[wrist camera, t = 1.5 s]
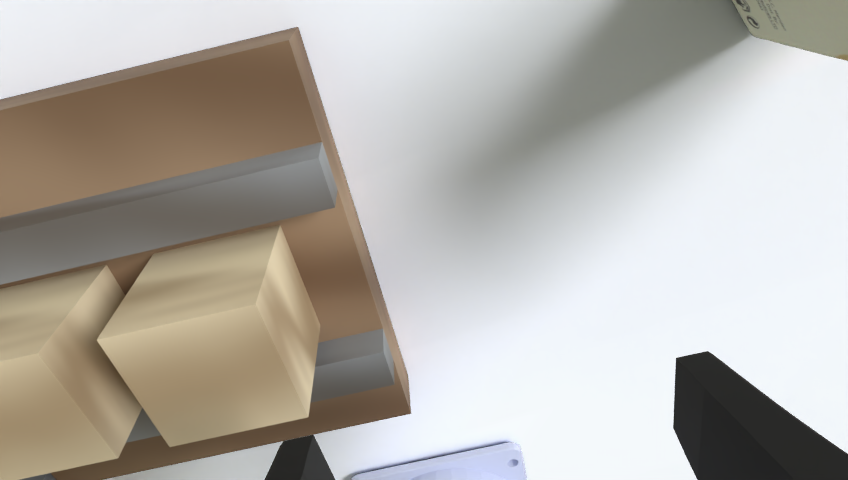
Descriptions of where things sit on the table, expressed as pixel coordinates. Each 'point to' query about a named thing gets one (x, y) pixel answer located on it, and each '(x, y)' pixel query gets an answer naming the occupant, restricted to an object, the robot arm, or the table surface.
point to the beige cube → (60, 376)
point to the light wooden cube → (217, 337)
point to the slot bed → (201, 211)
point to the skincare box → (799, 23)
